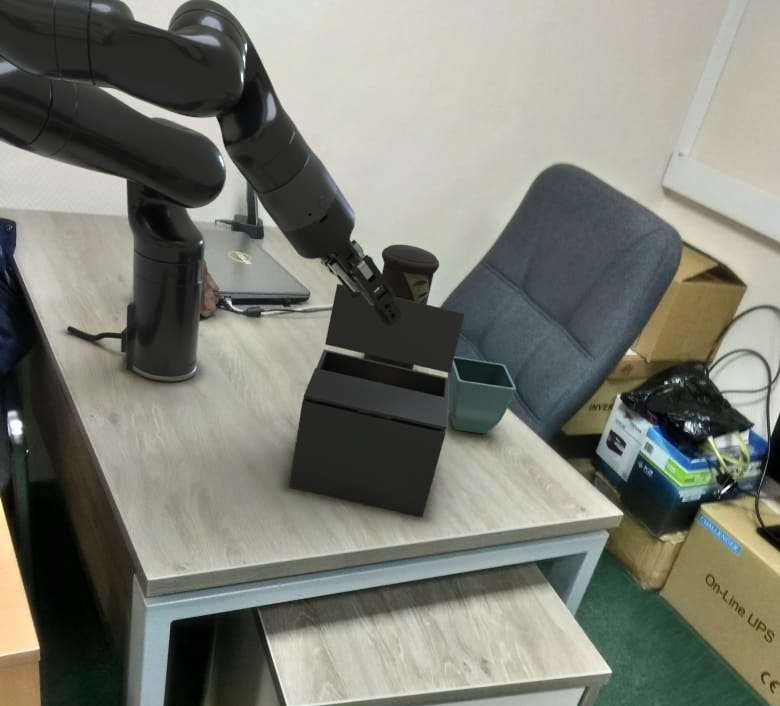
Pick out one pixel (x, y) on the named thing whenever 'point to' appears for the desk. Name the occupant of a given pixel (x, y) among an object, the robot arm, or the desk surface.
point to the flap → (396, 331)
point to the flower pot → (478, 394)
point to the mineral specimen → (208, 293)
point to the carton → (370, 433)
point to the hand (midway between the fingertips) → (376, 305)
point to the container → (407, 280)
